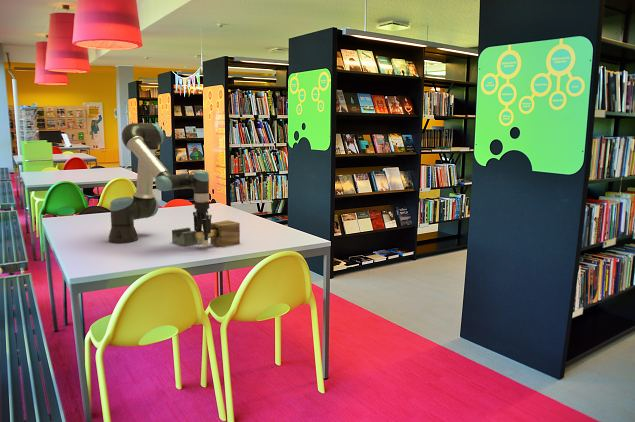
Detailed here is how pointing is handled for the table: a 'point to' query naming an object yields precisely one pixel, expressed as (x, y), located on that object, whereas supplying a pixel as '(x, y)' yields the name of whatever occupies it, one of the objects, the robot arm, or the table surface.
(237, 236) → the wooden cube block
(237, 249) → the table surface
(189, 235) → the v block
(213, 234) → the axle
